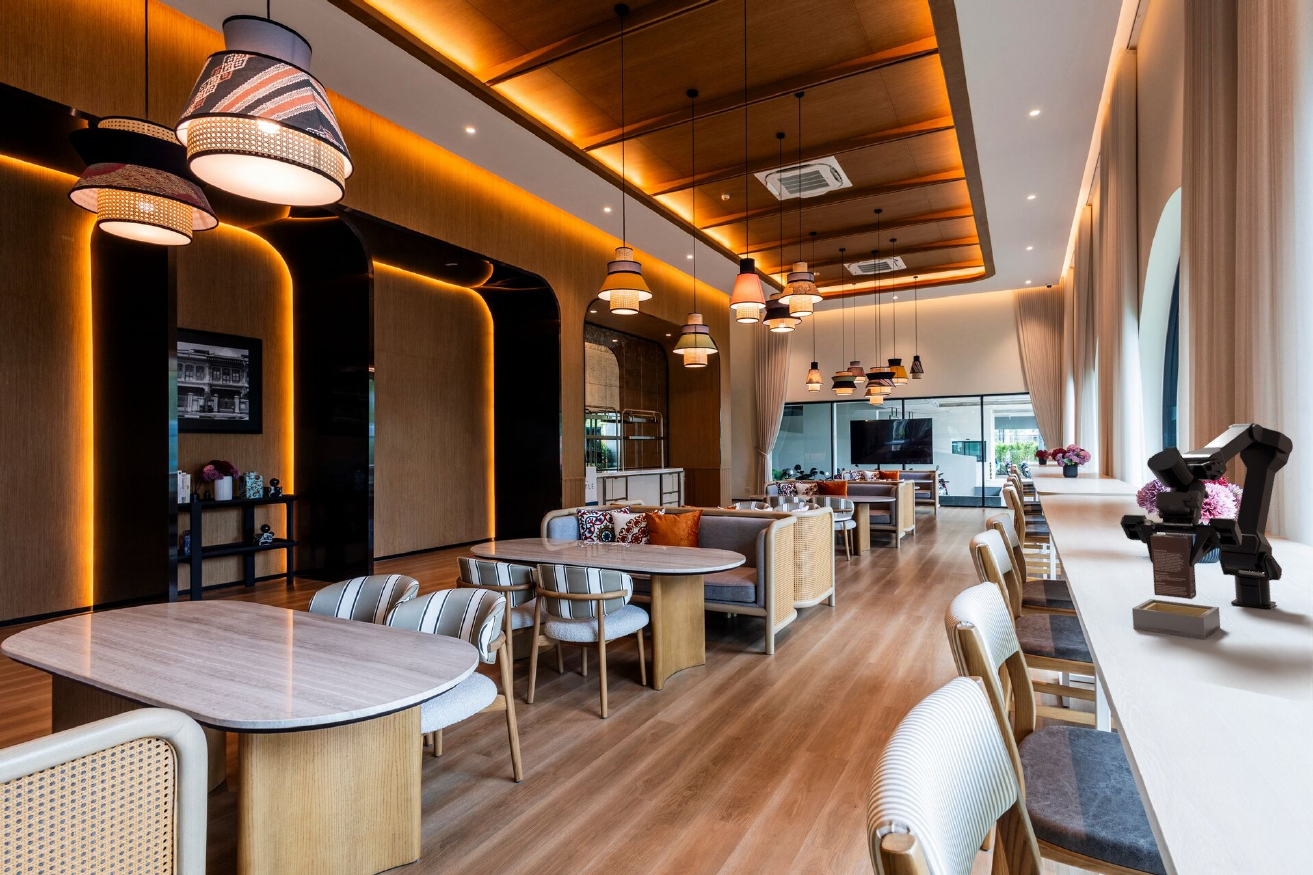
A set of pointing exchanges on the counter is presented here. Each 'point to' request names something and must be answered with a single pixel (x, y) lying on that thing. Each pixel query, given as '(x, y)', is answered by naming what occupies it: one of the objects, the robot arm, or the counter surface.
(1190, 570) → the box
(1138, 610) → the tray
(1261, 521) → the robot arm
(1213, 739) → the counter surface
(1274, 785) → the counter surface
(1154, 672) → the counter surface
